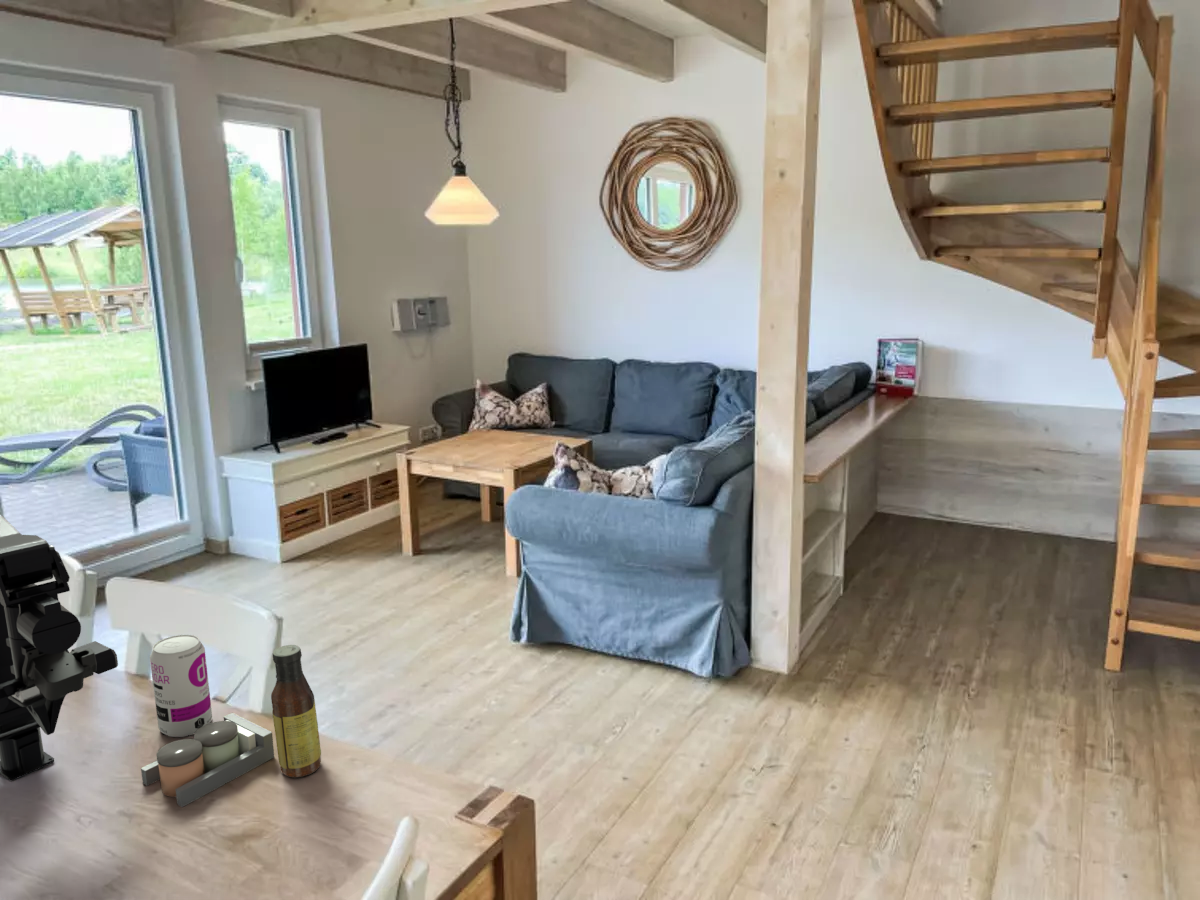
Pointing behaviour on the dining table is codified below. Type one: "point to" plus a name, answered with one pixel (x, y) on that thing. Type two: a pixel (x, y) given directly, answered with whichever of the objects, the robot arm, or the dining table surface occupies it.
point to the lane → (225, 771)
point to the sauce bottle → (294, 715)
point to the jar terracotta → (179, 764)
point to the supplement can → (180, 685)
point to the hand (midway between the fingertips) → (49, 733)
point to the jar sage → (218, 743)
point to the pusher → (245, 739)
